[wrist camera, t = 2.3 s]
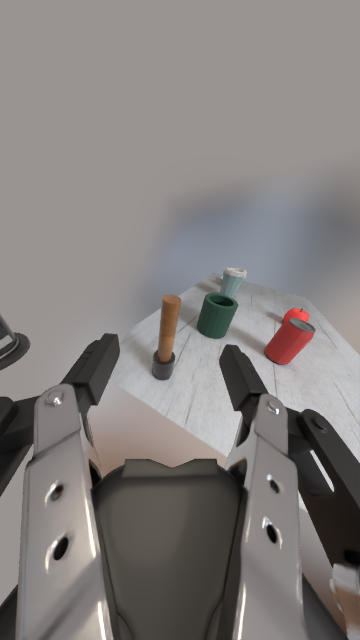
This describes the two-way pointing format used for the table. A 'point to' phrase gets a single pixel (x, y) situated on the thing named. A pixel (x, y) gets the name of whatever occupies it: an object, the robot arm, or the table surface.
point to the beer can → (289, 340)
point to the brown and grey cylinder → (166, 338)
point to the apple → (296, 315)
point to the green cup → (216, 315)
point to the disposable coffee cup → (232, 281)
